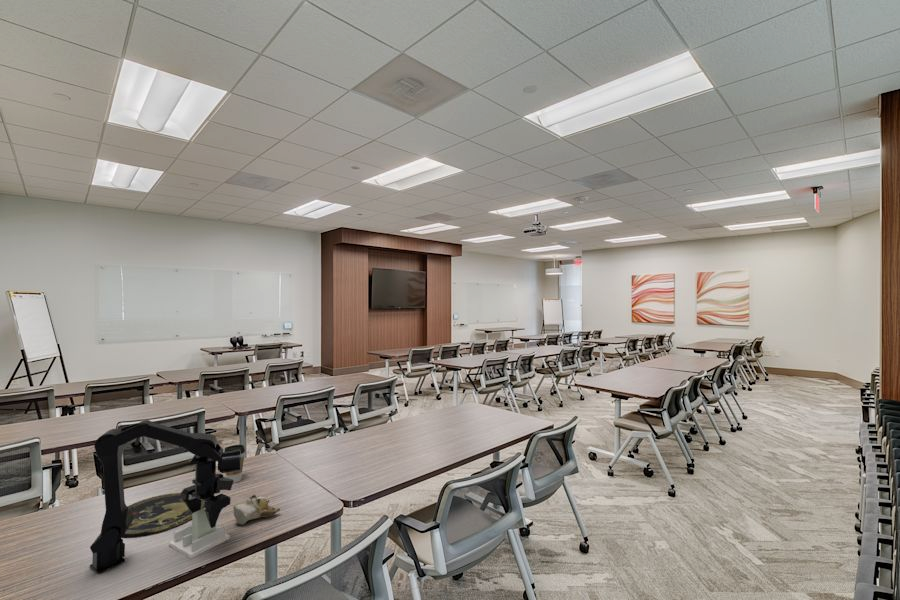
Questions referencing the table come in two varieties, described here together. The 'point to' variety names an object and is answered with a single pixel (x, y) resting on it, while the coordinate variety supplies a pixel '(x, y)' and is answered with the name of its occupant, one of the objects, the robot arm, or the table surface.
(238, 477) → the coffee cup
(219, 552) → the table surface
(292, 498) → the table surface
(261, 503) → the ceramic sculpture
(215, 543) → the dish rack
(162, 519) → the decorative plate
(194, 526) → the sage tile
